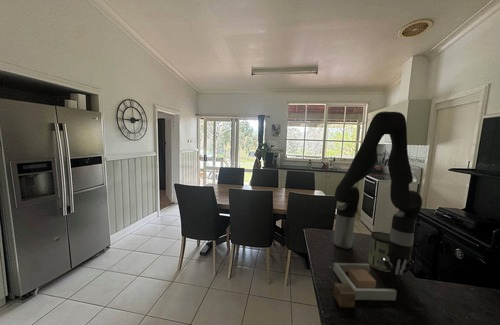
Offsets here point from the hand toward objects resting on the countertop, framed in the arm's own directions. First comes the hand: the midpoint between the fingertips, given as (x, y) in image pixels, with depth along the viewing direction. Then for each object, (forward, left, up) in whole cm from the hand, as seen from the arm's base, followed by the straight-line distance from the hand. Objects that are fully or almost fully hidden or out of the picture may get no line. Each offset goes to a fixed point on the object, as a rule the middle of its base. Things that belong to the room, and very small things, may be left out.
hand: (395, 281), depth 81 cm
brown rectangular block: (0, -14, -2) cm, 14 cm away
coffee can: (-13, +3, -2) cm, 13 cm away
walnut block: (+9, -26, -2) cm, 27 cm away
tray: (0, -14, -1) cm, 14 cm away
